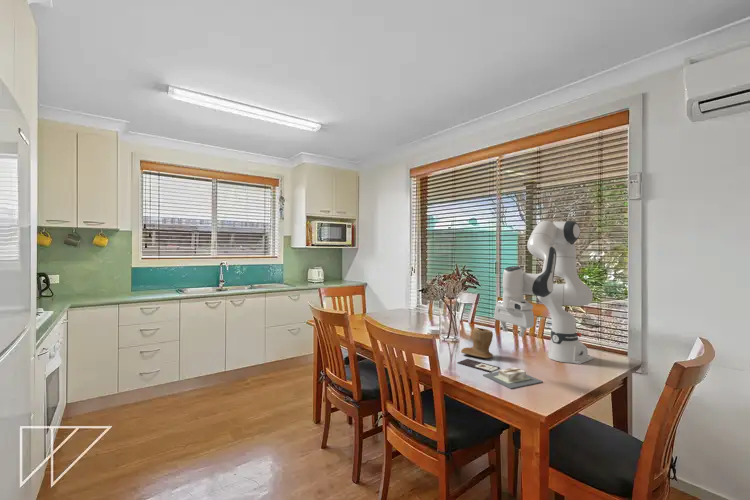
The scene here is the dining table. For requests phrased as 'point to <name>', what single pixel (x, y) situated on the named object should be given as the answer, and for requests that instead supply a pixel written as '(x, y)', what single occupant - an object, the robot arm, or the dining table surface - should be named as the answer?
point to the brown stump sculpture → (480, 343)
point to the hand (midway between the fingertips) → (513, 333)
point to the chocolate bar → (478, 365)
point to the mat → (515, 383)
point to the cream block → (512, 374)
